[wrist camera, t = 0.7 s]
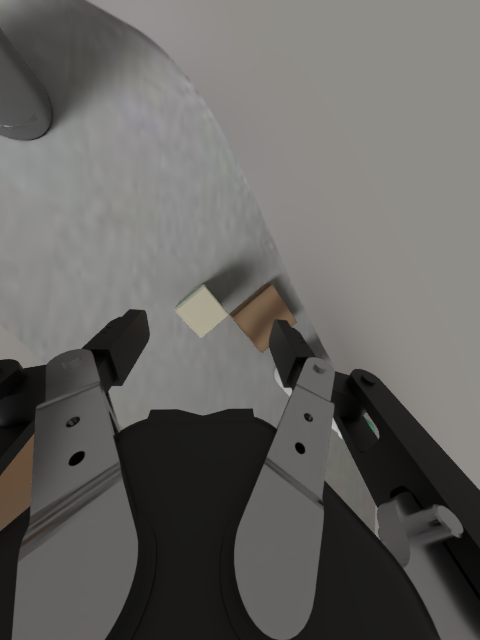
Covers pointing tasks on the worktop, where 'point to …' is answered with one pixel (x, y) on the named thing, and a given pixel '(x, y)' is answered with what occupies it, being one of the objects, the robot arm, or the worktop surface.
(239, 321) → the walnut box
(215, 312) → the tea tin
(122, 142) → the worktop surface
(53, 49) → the worktop surface
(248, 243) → the worktop surface
